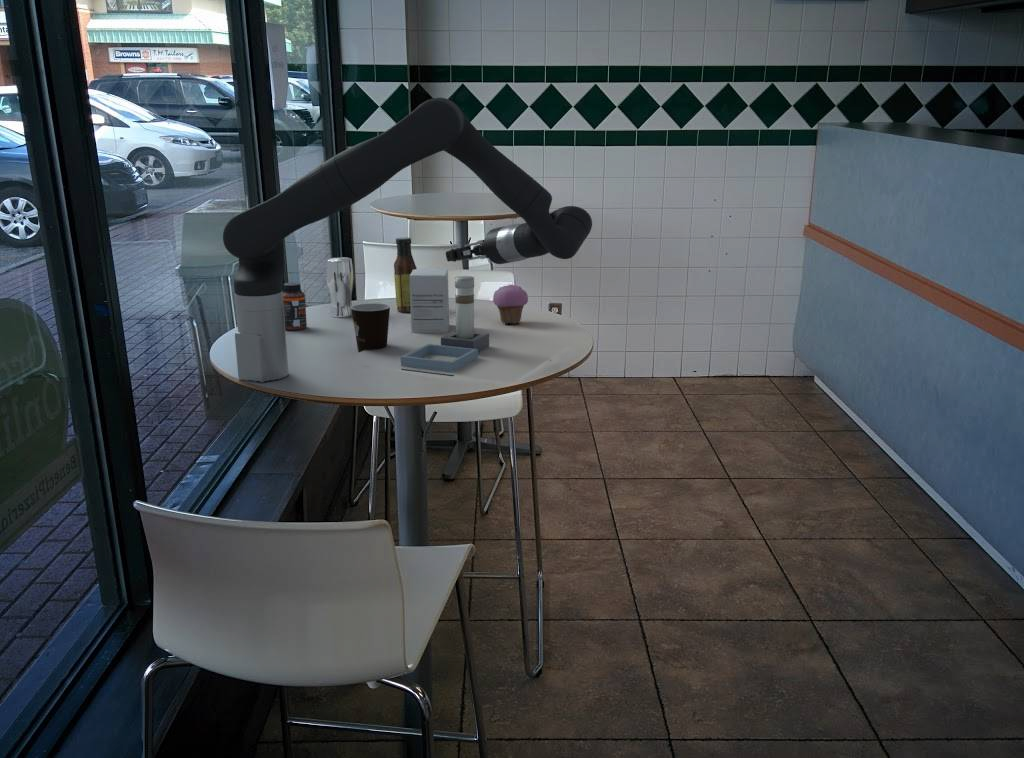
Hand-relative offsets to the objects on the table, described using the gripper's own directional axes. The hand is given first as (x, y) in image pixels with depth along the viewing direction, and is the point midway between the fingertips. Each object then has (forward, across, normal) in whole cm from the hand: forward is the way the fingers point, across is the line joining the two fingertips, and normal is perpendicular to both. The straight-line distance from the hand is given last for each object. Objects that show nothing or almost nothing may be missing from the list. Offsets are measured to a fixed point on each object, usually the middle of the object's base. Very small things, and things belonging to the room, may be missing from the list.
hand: (462, 253), depth 195 cm
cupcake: (+18, -26, +20) cm, 37 cm away
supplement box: (+24, -5, +18) cm, 30 cm away
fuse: (+3, +2, +21) cm, 21 cm away
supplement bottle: (+50, +17, +10) cm, 54 cm away
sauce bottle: (+48, -16, +13) cm, 52 cm away
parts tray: (-2, +14, +22) cm, 26 cm away
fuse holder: (+3, +2, +22) cm, 22 cm away
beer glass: (+55, 0, +10) cm, 56 cm away
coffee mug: (+20, +15, +17) cm, 30 cm away
